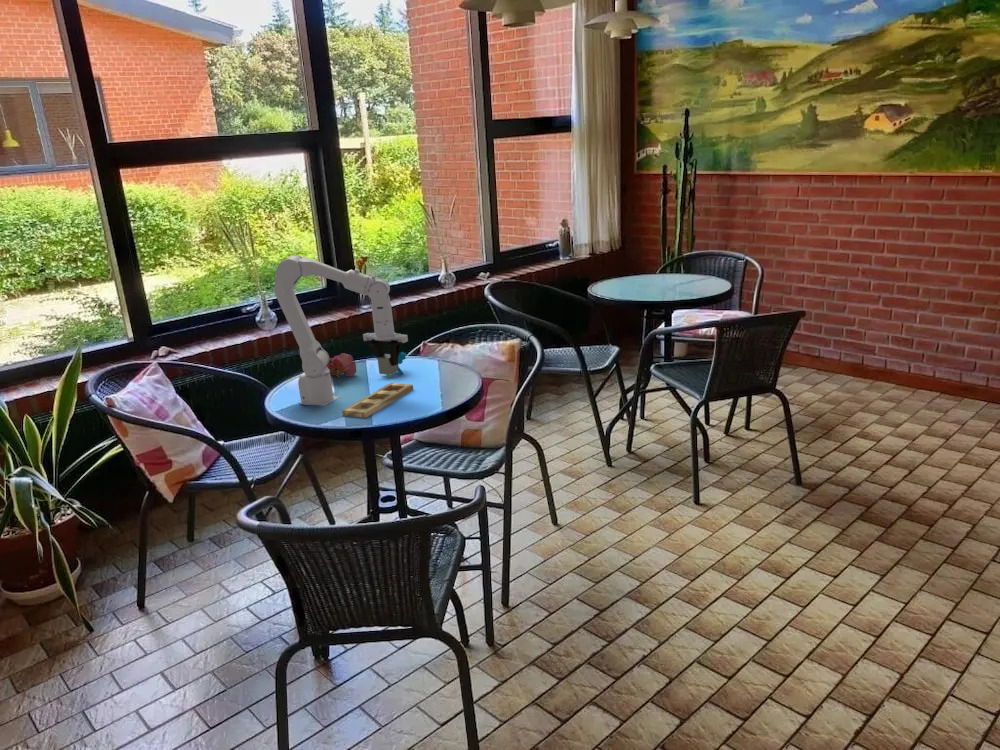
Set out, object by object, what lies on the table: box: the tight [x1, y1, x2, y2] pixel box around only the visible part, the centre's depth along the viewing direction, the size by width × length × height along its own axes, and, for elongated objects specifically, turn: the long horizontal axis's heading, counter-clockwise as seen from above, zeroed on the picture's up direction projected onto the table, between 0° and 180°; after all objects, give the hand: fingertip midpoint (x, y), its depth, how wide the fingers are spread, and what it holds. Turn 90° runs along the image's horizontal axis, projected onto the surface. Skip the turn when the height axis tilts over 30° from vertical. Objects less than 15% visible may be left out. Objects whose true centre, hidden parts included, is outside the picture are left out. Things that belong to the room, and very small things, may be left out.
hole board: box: [341, 382, 414, 418], centre depth 219 cm, size 8×25×2 cm, turn 155°
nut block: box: [376, 353, 399, 376], centre depth 221 cm, size 4×4×5 cm
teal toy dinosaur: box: [385, 351, 407, 378], centre depth 246 cm, size 11×6×10 cm
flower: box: [327, 352, 357, 383], centre depth 246 cm, size 11×10×10 cm
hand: (388, 364), depth 222 cm, fingers closed on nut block, 4 cm apart
